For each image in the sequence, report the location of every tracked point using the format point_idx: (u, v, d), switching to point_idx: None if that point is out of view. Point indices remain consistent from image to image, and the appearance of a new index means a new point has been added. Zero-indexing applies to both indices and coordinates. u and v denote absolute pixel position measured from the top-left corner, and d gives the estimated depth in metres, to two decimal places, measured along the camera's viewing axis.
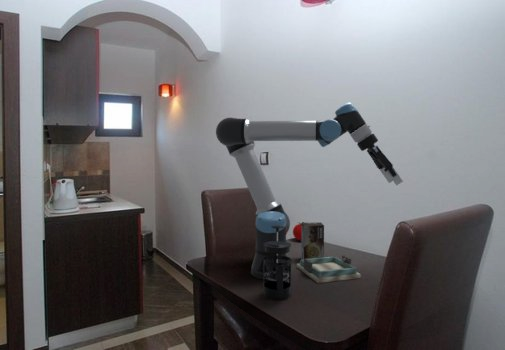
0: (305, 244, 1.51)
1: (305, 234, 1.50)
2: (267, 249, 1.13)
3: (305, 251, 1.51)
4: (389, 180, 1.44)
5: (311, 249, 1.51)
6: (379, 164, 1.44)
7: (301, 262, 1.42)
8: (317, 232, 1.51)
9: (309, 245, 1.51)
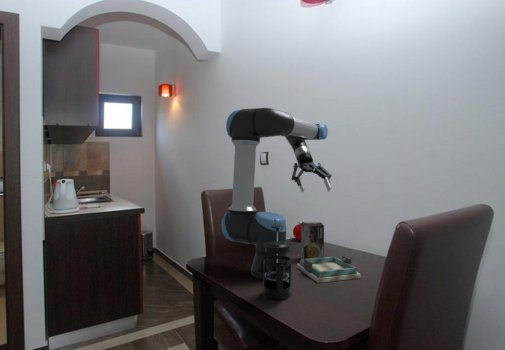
0: (305, 244, 1.51)
1: (305, 234, 1.50)
2: (267, 249, 1.13)
3: (305, 251, 1.51)
4: None
5: (311, 249, 1.51)
6: (300, 175, 1.67)
7: (301, 262, 1.42)
8: (317, 232, 1.51)
9: (309, 245, 1.51)
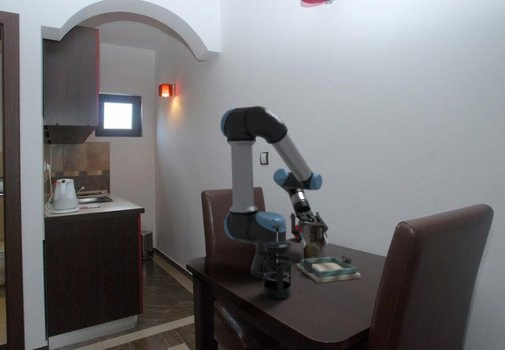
0: None
1: (305, 234, 1.51)
2: (267, 249, 1.13)
3: (305, 251, 1.51)
4: None
5: (311, 249, 1.51)
6: None
7: (301, 262, 1.42)
8: (317, 232, 1.51)
9: (309, 245, 1.51)
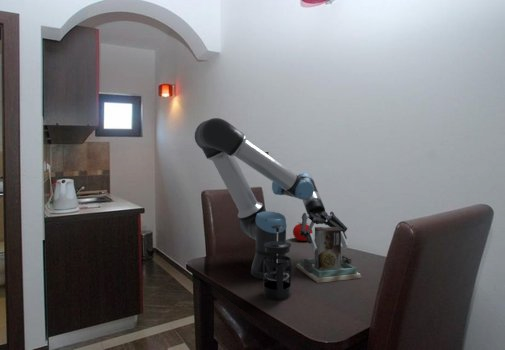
0: (320, 251, 1.34)
1: (320, 240, 1.34)
2: (267, 249, 1.13)
3: (320, 259, 1.34)
4: None
5: (327, 257, 1.34)
6: (310, 229, 1.38)
7: (301, 262, 1.42)
8: (333, 238, 1.34)
9: (324, 252, 1.34)
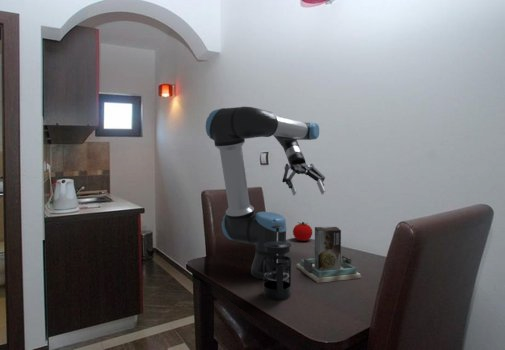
0: (320, 251, 1.34)
1: (320, 240, 1.34)
2: (267, 249, 1.13)
3: (320, 259, 1.34)
4: None
5: (327, 257, 1.34)
6: (292, 177, 1.55)
7: (301, 262, 1.42)
8: (333, 238, 1.34)
9: (324, 252, 1.34)
